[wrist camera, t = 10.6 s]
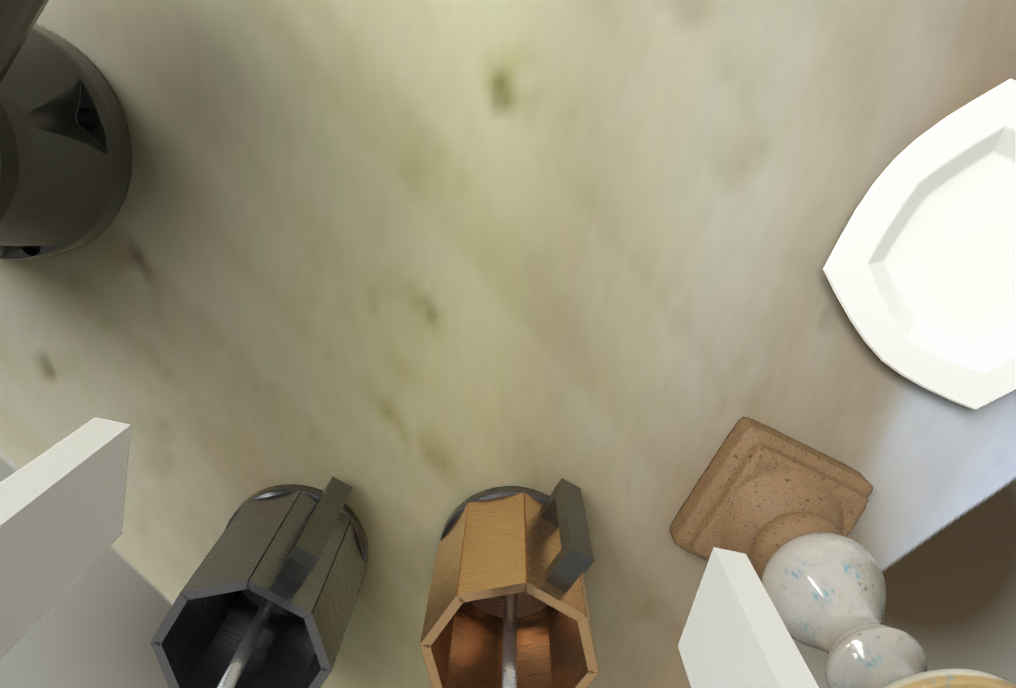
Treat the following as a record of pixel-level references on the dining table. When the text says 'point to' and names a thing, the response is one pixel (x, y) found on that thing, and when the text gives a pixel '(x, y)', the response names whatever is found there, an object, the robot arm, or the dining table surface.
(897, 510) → the dining table surface
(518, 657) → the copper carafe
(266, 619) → the steel plunger
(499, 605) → the copper plunger
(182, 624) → the steel carafe
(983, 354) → the plate
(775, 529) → the candle holder
